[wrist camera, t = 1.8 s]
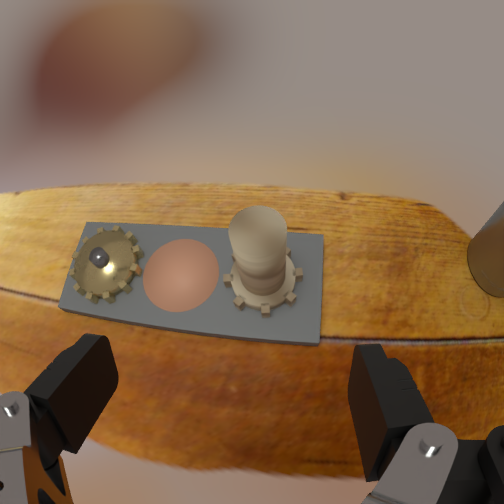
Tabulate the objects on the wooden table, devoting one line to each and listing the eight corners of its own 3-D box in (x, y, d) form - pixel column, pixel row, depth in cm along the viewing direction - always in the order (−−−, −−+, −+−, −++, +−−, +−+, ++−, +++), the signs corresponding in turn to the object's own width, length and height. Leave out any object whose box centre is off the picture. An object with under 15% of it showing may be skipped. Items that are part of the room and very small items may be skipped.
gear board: (321, 241, 37) (323, 234, 35) (317, 346, 31) (319, 343, 30) (91, 227, 40) (86, 221, 39) (64, 311, 35) (57, 306, 33)
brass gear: (116, 219, 39) (106, 205, 36) (159, 262, 35) (150, 249, 33) (64, 270, 36) (52, 259, 33) (101, 321, 32) (88, 312, 30)
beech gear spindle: (260, 234, 36) (253, 174, 27) (317, 276, 33) (329, 223, 24) (210, 285, 34) (185, 236, 25) (267, 333, 31) (262, 298, 22)
